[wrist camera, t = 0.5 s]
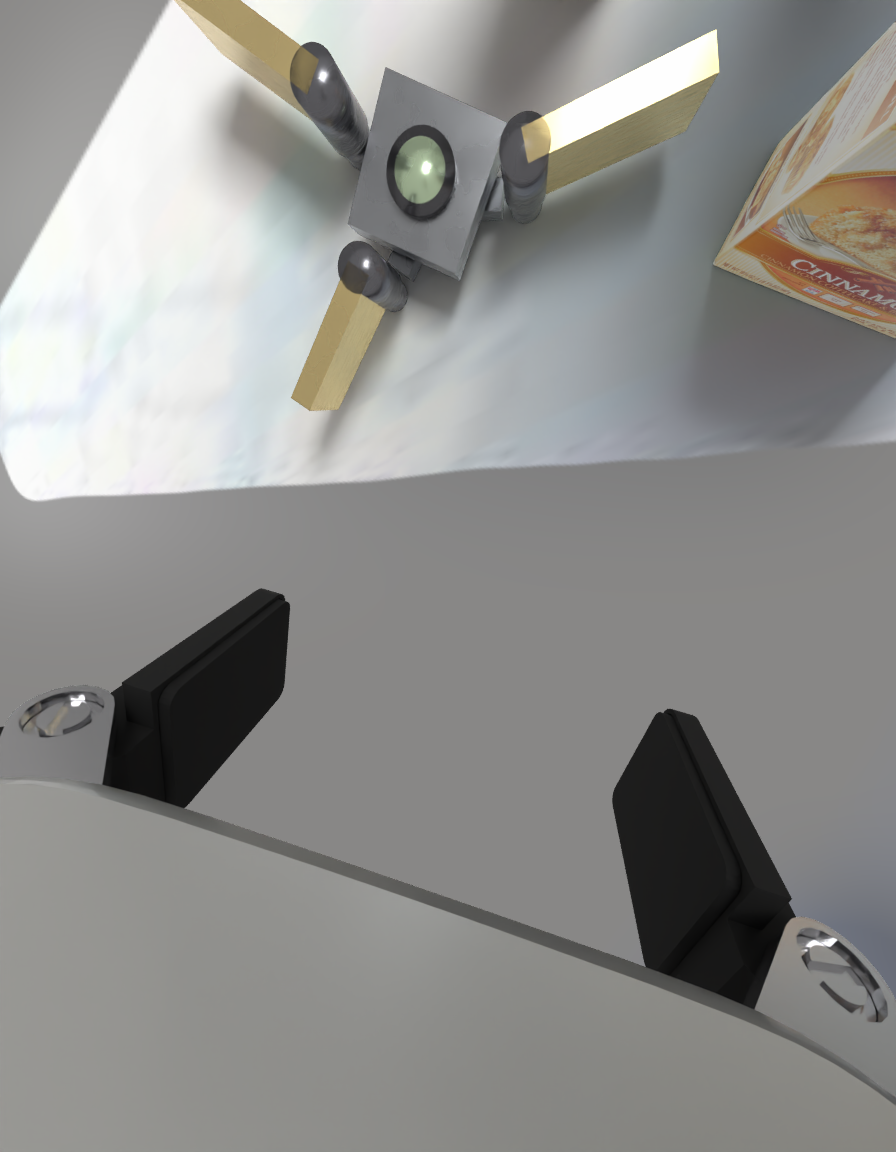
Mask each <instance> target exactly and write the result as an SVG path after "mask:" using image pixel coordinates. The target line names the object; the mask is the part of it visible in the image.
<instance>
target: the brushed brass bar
mask: <svg viewBox="0 0 896 1152" xmlns="http://www.w3.org/2000/svg"><path fill="white" fill-rule="evenodd" d="M175 2H176V3H177V4H178V5H179V6H180V7H181V8H182V10H183V11H184V12H185V13H186V14H187V15H188V16H189V17H190V19H191V20H192V21H193V22H194V23H195V24H196V25H197V26H198V28H199V29H200V30H201V31H202V32H203V33H204V34H205V35H206V37H207V38H208V39H209V40H210V41H211V42H212V43H213V45H214V46H215V47H216V48H217V49H218V50H219V51H220V52H221V54H223V55H224V56H225V57H227V58H228V59H229V60H231V61H232V62H233V63H235V64H236V65H237V66H239V67H240V68H242V69H243V70H244V71H246V72H247V73H248V74H250V75H251V76H252V77H254V78H255V79H256V80H258V81H259V82H260V83H262V84H263V85H264V86H266V87H267V88H269V89H270V90H271V91H273V92H274V93H275V94H277V95H278V96H279V97H281V98H282V99H283V100H285V101H286V102H287V103H289V104H290V105H291V106H293V107H294V108H296V109H297V110H298V111H300V112H301V113H302V114H304V115H305V116H306V117H308V118H309V119H310V120H312V121H313V122H314V123H315V125H316V126H317V127H318V128H319V130H320V131H321V132H322V134H323V135H324V136H325V137H326V139H327V140H328V141H329V143H330V144H331V145H332V146H333V148H334V149H335V150H336V151H337V152H338V153H339V154H340V155H342V156H344V157H347V158H348V160H349V161H350V162H351V164H352V165H353V166H354V167H355V168H357V169H359V170H361V167H362V163H363V159H364V155H365V151H366V146H367V142H368V138H369V134H370V131H369V129H368V122H367V118H366V116H365V113H364V111H363V110H362V108H361V106H360V105H359V103H358V101H357V99H356V98H355V96H354V94H353V92H352V91H351V89H350V87H349V85H348V84H347V82H346V80H345V78H344V77H343V75H342V73H341V71H340V70H339V68H338V66H337V65H336V63H335V61H334V59H333V58H332V56H331V54H330V53H329V51H328V50H327V49H326V48H325V47H324V46H323V45H321V44H319V43H316V42H309V43H306V44H304V45H302V46H300V45H299V44H298V43H296V42H295V41H294V40H292V39H291V38H290V37H288V36H287V35H286V34H284V33H283V32H282V31H280V30H279V29H278V28H276V27H275V26H274V25H272V24H271V23H270V22H268V21H267V20H266V19H264V18H263V17H262V16H260V15H259V14H258V13H256V12H255V11H254V10H252V9H251V8H250V7H248V6H247V5H246V4H244V3H243V2H242V1H240V0H175Z"/></svg>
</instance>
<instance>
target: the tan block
mask: <svg viewBox="0 0 896 1152" xmlns="http://www.w3.org/2000/svg"><path fill="white" fill-rule="evenodd" d="M338 273H339V277H340V281H339V284H338V286H337V289H336V291H335V293H334V296H333V298H332V301H331V303H330V305H329V308H328V310H327V313H326V315H325V317H324V320H323V322H322V325H321V327H320V329H319V332H318V334H317V337H316V339H315V341H314V344H313V346H312V349H311V351H310V353H309V356H308V358H307V361H306V363H305V365H304V368H303V370H302V373H301V375H300V377H299V380H298V382H297V385H296V387H295V389H294V392H293V394H292V397H291V398H292V399H293V400H295V401H296V402H298V403H299V404H301V405H302V406H304V407H305V408H306V409H308V410H309V411H318V410H338V409H339V407H340V405H341V403H342V401H343V399H344V397H345V395H346V393H347V390H348V388H349V386H350V384H351V382H352V380H353V378H354V376H355V373H356V371H357V369H358V367H359V365H360V363H361V361H362V359H363V357H364V354H365V352H366V350H367V348H368V346H369V344H370V342H371V340H372V338H373V335H374V333H375V331H376V329H377V327H378V325H379V323H380V321H381V318H382V316H383V314H384V312H385V310H389V311H392V312H396V311H399V310H401V309H402V308H403V307H404V306H405V304H406V301H407V290H406V287H405V286H404V284H403V283H402V282H401V279H400V276H399V274H398V273H397V272H396V270H395V269H394V268H393V267H392V266H391V265H390V264H388V263H387V262H386V261H385V260H384V259H383V258H382V257H381V256H380V255H379V254H378V253H377V252H376V251H375V250H374V249H373V248H372V247H371V246H370V245H369V244H367V243H365V242H362V241H354V242H351V243H349V244H348V245H347V246H346V247H345V248H344V249H343V250H342V252H341V254H340V257H339V260H338Z"/></svg>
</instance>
